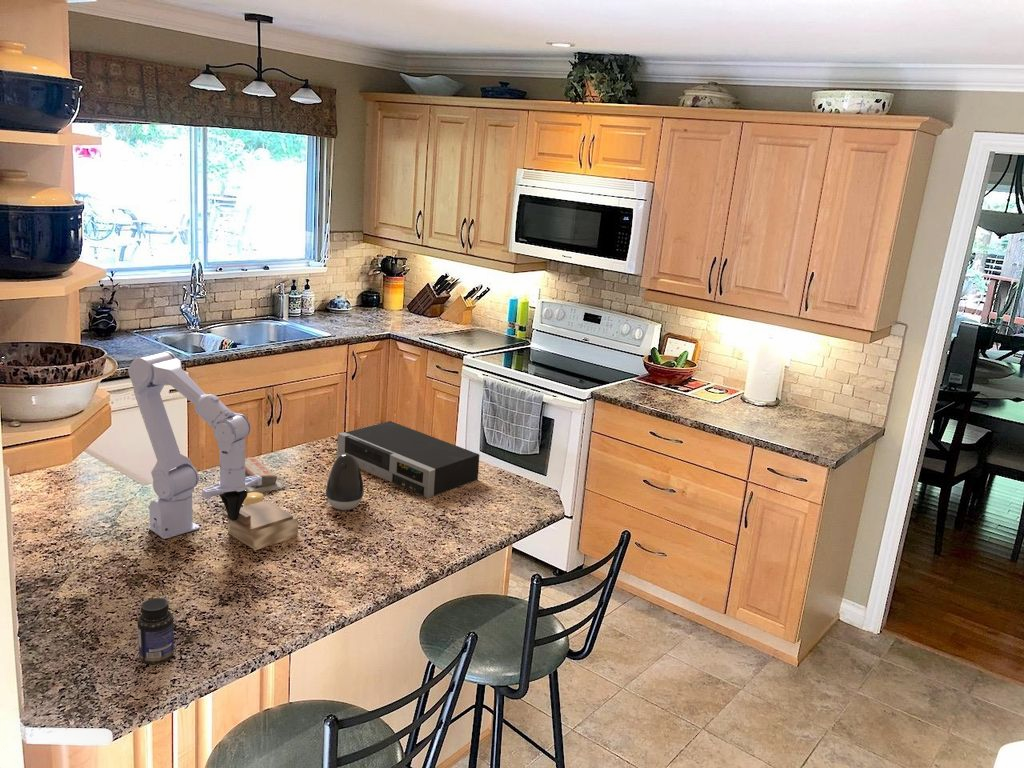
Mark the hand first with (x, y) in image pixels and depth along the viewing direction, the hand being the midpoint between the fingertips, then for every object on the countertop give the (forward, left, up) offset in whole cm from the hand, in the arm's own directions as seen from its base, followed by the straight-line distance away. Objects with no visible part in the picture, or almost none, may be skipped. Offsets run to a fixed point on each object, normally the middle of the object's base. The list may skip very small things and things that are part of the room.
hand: (232, 518), depth 200 cm
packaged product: (+26, +31, -7) cm, 41 cm away
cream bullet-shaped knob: (+13, +12, -7) cm, 19 cm away
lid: (+7, 0, -2) cm, 7 cm away
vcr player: (+65, +11, -7) cm, 66 cm away
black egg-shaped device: (+34, +1, -7) cm, 35 cm away
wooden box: (+8, 0, -7) cm, 11 cm away
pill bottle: (-35, -31, -7) cm, 47 cm away
